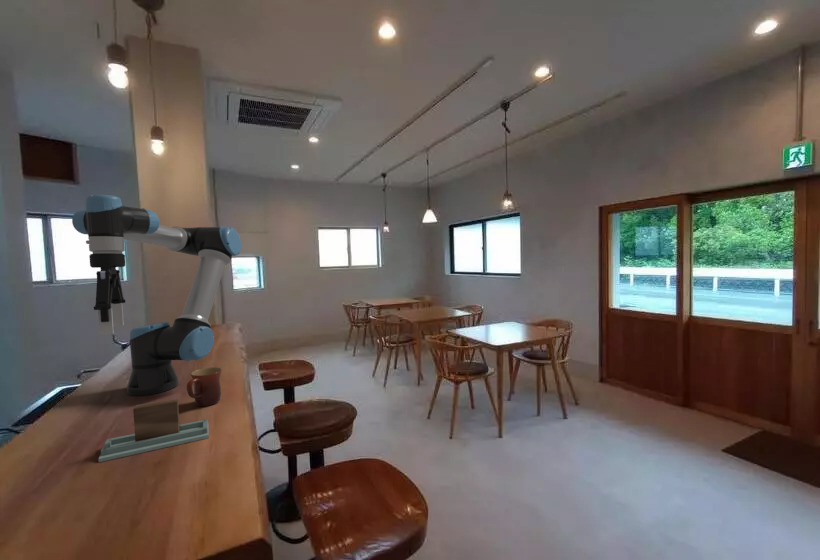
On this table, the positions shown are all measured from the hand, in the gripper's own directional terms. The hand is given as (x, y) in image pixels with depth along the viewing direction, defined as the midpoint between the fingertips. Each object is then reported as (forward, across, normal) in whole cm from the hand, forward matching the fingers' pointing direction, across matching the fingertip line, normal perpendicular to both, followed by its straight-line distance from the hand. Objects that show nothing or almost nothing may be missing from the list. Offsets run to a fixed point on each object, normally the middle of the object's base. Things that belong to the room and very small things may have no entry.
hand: (112, 330), depth 102 cm
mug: (+27, -3, +21) cm, 34 cm away
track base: (+27, +18, +11) cm, 34 cm away
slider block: (+26, +18, +11) cm, 33 cm away
